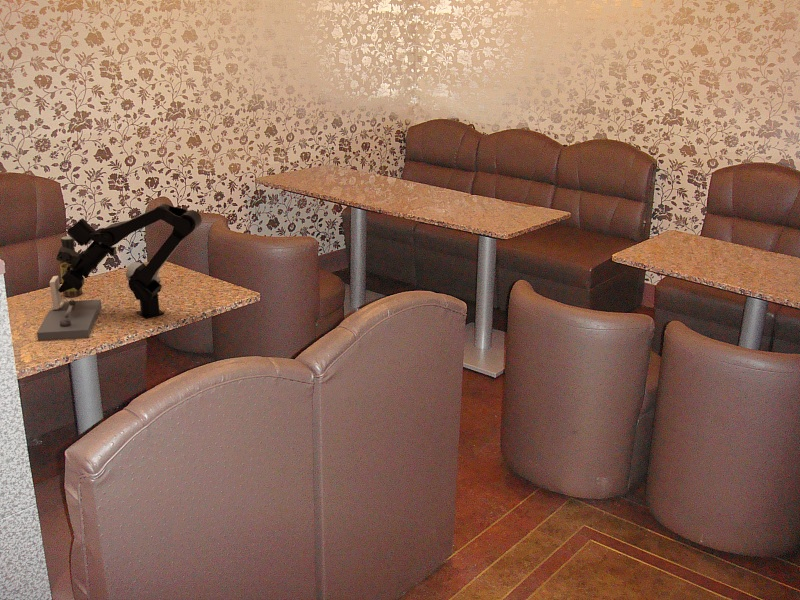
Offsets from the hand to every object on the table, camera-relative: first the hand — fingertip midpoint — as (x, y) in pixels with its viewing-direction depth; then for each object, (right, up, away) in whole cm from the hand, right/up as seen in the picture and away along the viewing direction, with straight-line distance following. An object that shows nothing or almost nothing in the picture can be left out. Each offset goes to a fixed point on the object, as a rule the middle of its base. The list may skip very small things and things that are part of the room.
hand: (59, 291), depth 248 cm
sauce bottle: (-4, -1, +20) cm, 20 cm away
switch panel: (+5, -10, -4) cm, 12 cm away
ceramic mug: (+17, +3, +31) cm, 36 cm away
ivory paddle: (-1, -5, +1) cm, 5 cm away
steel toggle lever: (+8, -8, -13) cm, 17 cm away
